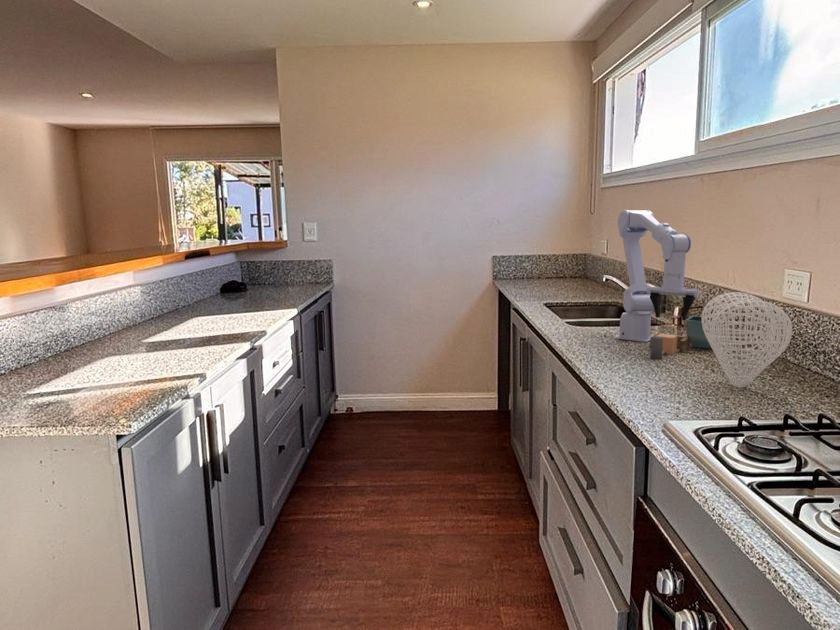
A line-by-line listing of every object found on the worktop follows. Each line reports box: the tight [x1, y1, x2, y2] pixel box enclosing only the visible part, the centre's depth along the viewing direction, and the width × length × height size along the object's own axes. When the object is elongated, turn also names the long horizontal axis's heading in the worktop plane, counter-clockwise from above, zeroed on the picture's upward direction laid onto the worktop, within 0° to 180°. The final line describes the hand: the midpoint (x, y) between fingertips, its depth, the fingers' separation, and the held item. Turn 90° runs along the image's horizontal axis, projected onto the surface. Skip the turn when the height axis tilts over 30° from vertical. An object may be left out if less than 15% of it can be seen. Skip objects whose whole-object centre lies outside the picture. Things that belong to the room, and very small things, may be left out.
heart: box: [701, 291, 793, 389], centre depth 135 cm, size 28×16×22 cm, turn 164°
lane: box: [649, 333, 691, 353], centre depth 179 cm, size 10×8×4 cm
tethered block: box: [649, 333, 679, 360], centre depth 171 cm, size 5×14×6 cm, turn 142°
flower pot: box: [685, 315, 720, 349], centre depth 181 cm, size 9×9×9 cm
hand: (670, 318), depth 174 cm, fingers open, 7 cm apart
